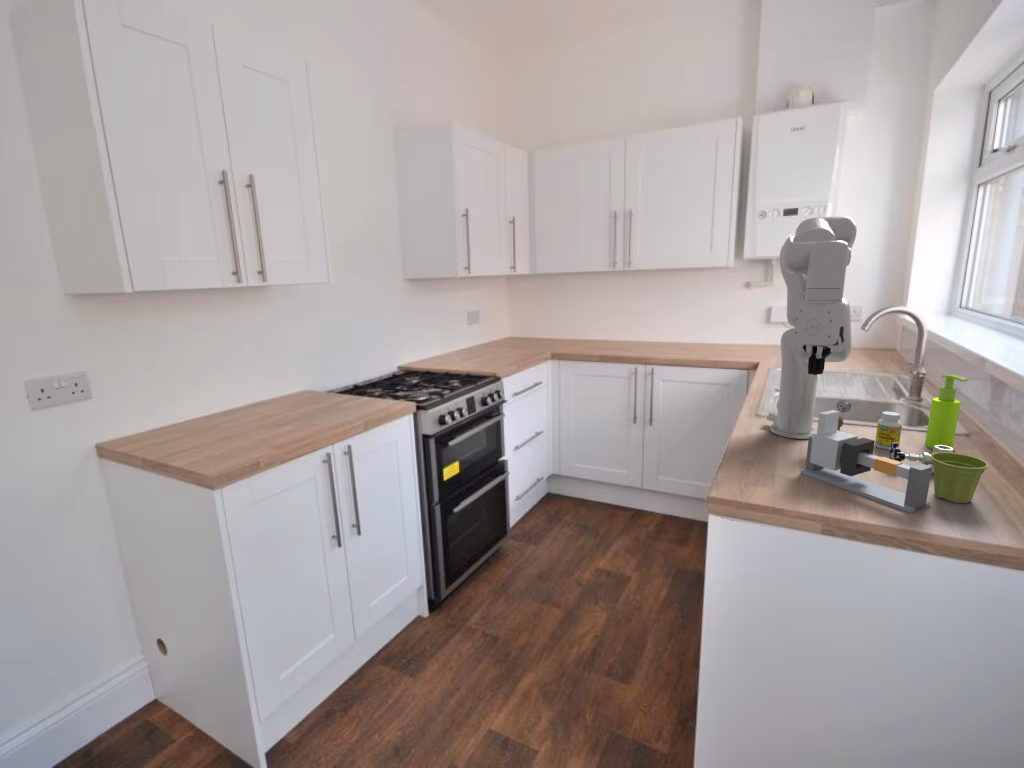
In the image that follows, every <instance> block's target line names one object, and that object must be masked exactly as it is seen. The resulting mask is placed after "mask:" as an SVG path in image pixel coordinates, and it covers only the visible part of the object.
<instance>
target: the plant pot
mask: <svg viewBox="0 0 1024 768" xmlns="http://www.w3.org/2000/svg"><path fill="white" fill-rule="evenodd" d="M930 458H931V459H932V463H933V465H934V474H933V478H934V479H933V481H934V482H933V483H934V485H933V489H934V490H933V491H934V495H935V496H936V497H937V498H939V499H945V500H947V502H951V503H956V504H957V503H958V504H967V503H968V502H972V500H973V498H974V496H975V491H976V489H977V487H978V484H979V482H980V480H981V476H982V475H983V474H984V472H985V470H986V469H988V468H989V463H988V462H987V461H985V460H983V459H980V458H978V457H974V456H972V455H968V454H962V453H956V452H953V453H947V452H938V453H933V452H932V453H931V454H930Z"/></svg>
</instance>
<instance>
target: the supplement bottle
mask: <svg viewBox="0 0 1024 768" xmlns="http://www.w3.org/2000/svg"><path fill="white" fill-rule="evenodd" d="M900 419H901V414H900V413H898V412H895V411H882V412H881V418H880V419H879V420H878V421H877V426H876V434H875V440H874V441H875V443H874V446H876V447H877V448H880V449H883V450H888V451H889V449H891V447H890V444H891V443H893V442H894V443H898V446H896V448H899V449H900V441H901V435H902V429H903V424H902V422H901V421H900Z"/></svg>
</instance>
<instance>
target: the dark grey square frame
mask: <svg viewBox="0 0 1024 768" xmlns="http://www.w3.org/2000/svg"><path fill="white" fill-rule="evenodd" d="M874 449H875V440H874V439H870V438H866V437H861V438H858V439H856V440H853V441H849V442H845V443H844V445H843V453H842V461H841V469H839V471H840V473H842V474H845V475H848V476H856V475H857V476H858V475H860V474H864V473H867V472H870V471H872V468H870V467H867V466H864V465H861V464H858V463H857V458H858V452H859V451H861V452H865V453H868V454H872V455H874Z"/></svg>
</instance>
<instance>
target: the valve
mask: <svg viewBox="0 0 1024 768" xmlns="http://www.w3.org/2000/svg"><path fill="white" fill-rule="evenodd" d="M896 446H898V443H894V442H893V443H891V444H890V447H891V449H889V450H888V451H887V452H888V453H887V454H889V457H888V458H889V459H892V460H896V461H899V462H902V461H905V460H908V461H909V462H917V461H918V463H920V464H925V465H928V466H929V465H930V466H932V472H931V474H933V475H934V465H933V463H932V459H931V458H930V455H931V454H929V452H922V453H921V454H919V455H918V454H917V453H909V454H906V452H905V451H904V452H902V451H901V448H900V447H899V448H896ZM954 451H955V450H954V448H951V447H948V446H943V445H936V446H934V448H932V454H933V453H938V452H947V453H954Z"/></svg>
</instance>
